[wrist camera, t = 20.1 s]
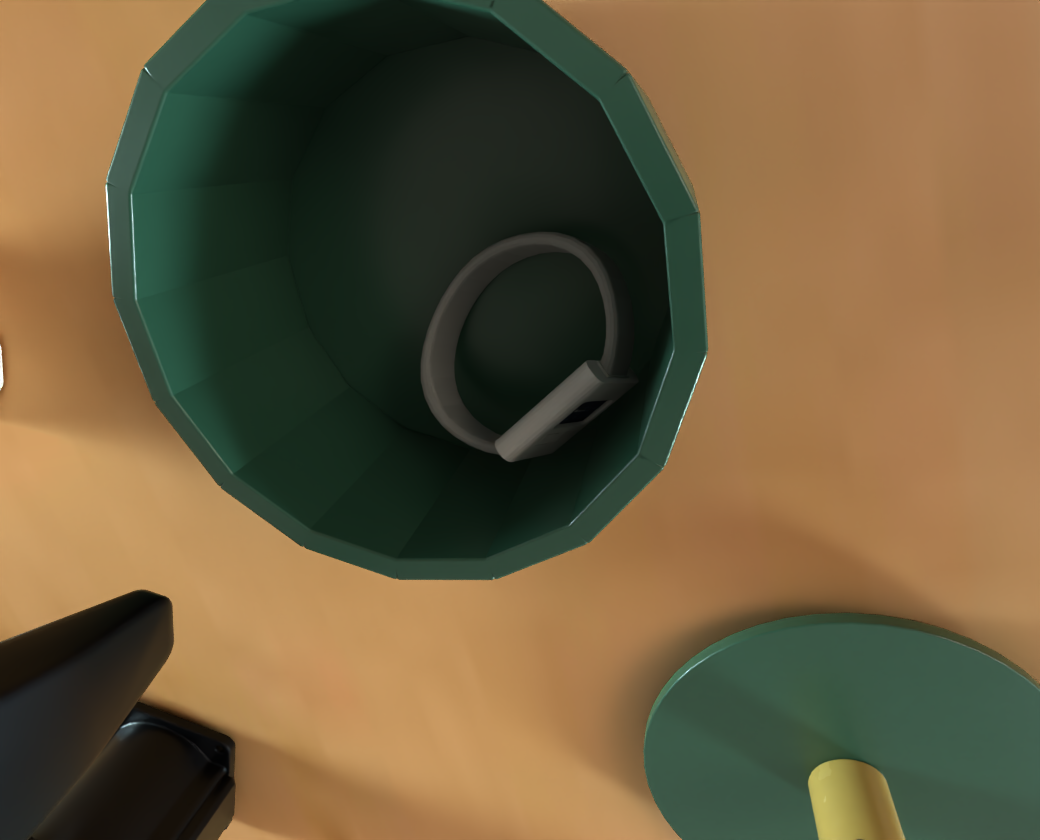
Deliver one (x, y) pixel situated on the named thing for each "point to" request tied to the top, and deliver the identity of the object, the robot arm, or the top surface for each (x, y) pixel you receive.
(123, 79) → the top surface
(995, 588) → the top surface
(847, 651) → the tin lid
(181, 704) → the top surface
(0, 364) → the white cup
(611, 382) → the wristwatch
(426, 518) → the tin
